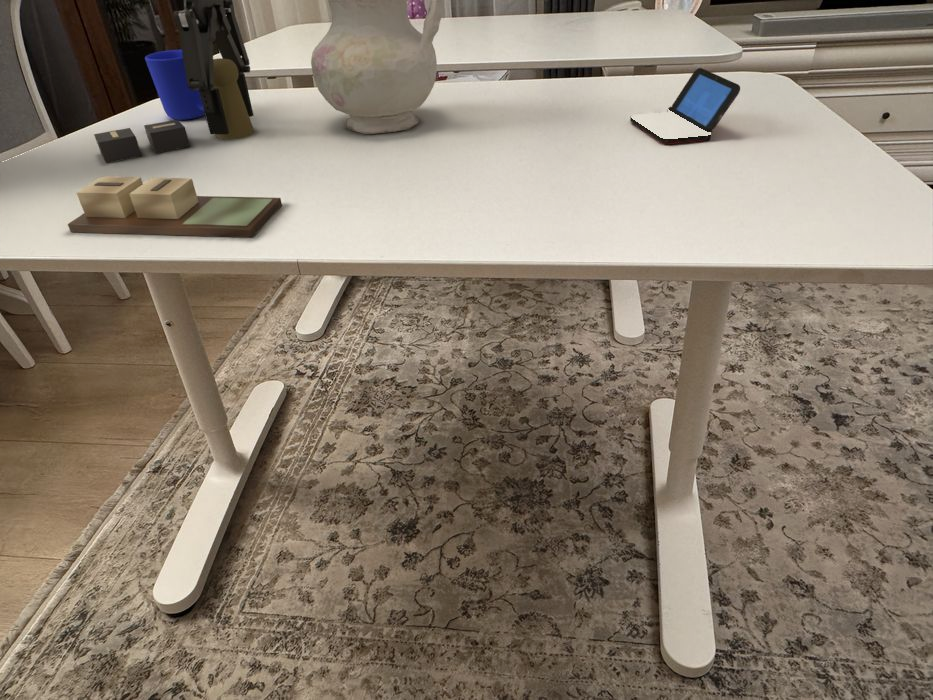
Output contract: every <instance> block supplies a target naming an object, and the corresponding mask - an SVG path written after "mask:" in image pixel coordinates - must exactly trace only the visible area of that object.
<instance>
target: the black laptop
mask: <svg viewBox="0 0 933 700" xmlns="http://www.w3.org/2000/svg"><path fill="white" fill-rule="evenodd" d="M740 92H741V86H740V85H739V84H738V83H736V82H733V81H731V80H729V79H727V78H724V77H722V76H720V75H718V74H716V73H714V72H712V71H708V70H707V69H704V68H702V67H699V68H697V69H695V70H694V71H693V72H692V74H691V75H690V77H689V79H688V80H687V82H686V83H685V85H684V86H683V87H682V90H680V92H679V94H678V95H677V97H676V98H675V100H674V101H673V103H672V105H671V106H668V108H667V110H668V109H669V110H670V111H672V112H674V113H675V114H677V115H679V116H680V117H682V118H684V119H686V120H687V121H689V122H691V123H693V124H694V125H696V126H698V127H699V128H701V129H703V130H705V131H707V132H712V133H713V131H714V130H715V128H716V127H717V126H718V124H719V123H720V121H721V120H722V119H723V117H724V116H725V114H726V113H727V111H728V110H729V109H730V107H731V105H732V104H733V103H734V101H735V99H737V97H738V95H739V94H740ZM629 120H630V122H631V123H632V124H633V125H634V126H636V127H637V128H639V129H640V130H642V131H643V132H645V133H646V134H647V135H649V136H650V137H652V138H653V139H655V140H656V141H657V142H659V143H660V144H662V145H666V146H667V145H668V146H669V145H677V144H689V143H697V142H704V141H705V142H709V141H710V140H711V139H712V135H708V136H698V137H688V138H678V139H663V138H660V137H659V136H657V135H656V134H654V133H653V132H651V131H650V130H648V129H647V128H645V127H644V126H642V125H641V124H639V123H638V122H636V121H635V120H633V119H632V118H631V117H630V119H629Z"/></svg>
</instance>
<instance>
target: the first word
mask: <svg viewBox="0 0 933 700" xmlns="http://www.w3.org/2000/svg"><path fill="white" fill-rule="evenodd" d="M143 127H144V129H145V130H144V131H145V134H146V137H147V140H148V143H149V145H150V147H151V148H152V149H153V151H154V152H155V153H156V154H159V153H165V152H169V151H175V150H176V151H177V150H180V149H181V150H182V149H185V148H190V147H191V143H190V140H189V136H188V132H187V129H186V127H185V126H184V125H183V123H182V122H181V121H180V120H176V119H171V120H168V121H162V122H156V123H151V124H150V123H149V124H145V125H143ZM93 136H94V138H95V141H96V144H97V146H98V150H99V152H100V155H101V157H102V159H103V161H104V163H105V164H109V163H114V162H119V161H124V160H129V159H134V158H140V157H143V155H142V152H141V149H140V146H139V142H138V140H137V136H136V134H135V133H134V132H133V130H132V129H131V127H127V128H126V127H125V128H122V129H116V130H115V129H114V130H110V131H109V130H108V131H104V132H98V133H94V134H93Z"/></svg>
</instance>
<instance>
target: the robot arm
mask: <svg viewBox="0 0 933 700" xmlns="http://www.w3.org/2000/svg"><path fill="white" fill-rule="evenodd" d="M173 18H174V21H175V24H176V27H177V30H178V31H177V32H178V36H179V43H180V48H181V49H180V50H182V55H183V61H184V67H185V73H186V79H187V85H188V87H189V88H190V89H191V90H198V91H199V93H200V97H201V100H202V104H203V108H204V112H205V114H204V115H205V119H206V123H207V127H208V131H209V134H210V135H215V134H228V133H229V130H228V126H227V122H226V118H225V114H224V110H223V106H222V102H221V98H220V94H219V90H218V88H214V67H213V59H214V43H215V46H216V47H217V49H218V51H219V54H220V56H221V58H223V59H230V60H232V61H233V62H234V63H235V64H236V66H237V68H238V79H237V84H238V87H239V90H240V93H241V95H242V98H243V101H244V104H245V107H246V109H247V112H248V115H249V118H252V117H254V116H255V115H254V111H253V106H252V101H251V97H250V93H249V88H248V84H247V83H248V82H247V79H246V75H245V73H247V74H248V73H251V66H250V59H249V55H248V53H247V49H246V46H245V42H244V40H243V37H242V33H241V30H240V27H239V26H240V25H239V24H238V20H237V17H236V12H235V5H234V1H233V0H183V10H174V11H173Z"/></svg>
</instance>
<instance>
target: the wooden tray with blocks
mask: <svg viewBox="0 0 933 700" xmlns="http://www.w3.org/2000/svg"><path fill="white" fill-rule="evenodd" d="M76 196H77V198H78V201H79V203H80V206H81V208H82V210H83V213H82V214H81V215H79V216H77V217H76V218H74V219H73V220H72V221H70V222H69V223H67V226H68V229H69V232H70V233H87V234H88V233H93V234H95V233H96V234H121V235H122V234H124V235H125V234H126V235H155V236H156V235H159V236H161V235H162V236H191V237H221V238H222V237H225V238H227V237H228V238H229V237H230V238H253V237H254V236H256V234H257V233H259V231H260V230H261V229H262V228H263V226H264V225H265V224H267V223H268V221H269V220H271V218H272V217H273V216H274V215H275V214H276V213H277V212H278V210H279V209H280V208H281V207H282V206H283V203H282V202H283V201H282V198H281V197H266V196H265V197H263V196H262V197H261V196H260V197H259V196H219V195H217V196H215V195H214V196H212V195H211V196H210V195H197V192H196V188H195V185H194V181H193V178H191V177H151V178H150V179H148V180H147V181H145V182H144V183H143V180H142V178H141V176H101V177H99V178H97V179H96V180H94V181H93V182H91V183H89V184H88V185H86V186H84V187H83V188H81V189H79V190H78V191H76Z"/></svg>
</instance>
